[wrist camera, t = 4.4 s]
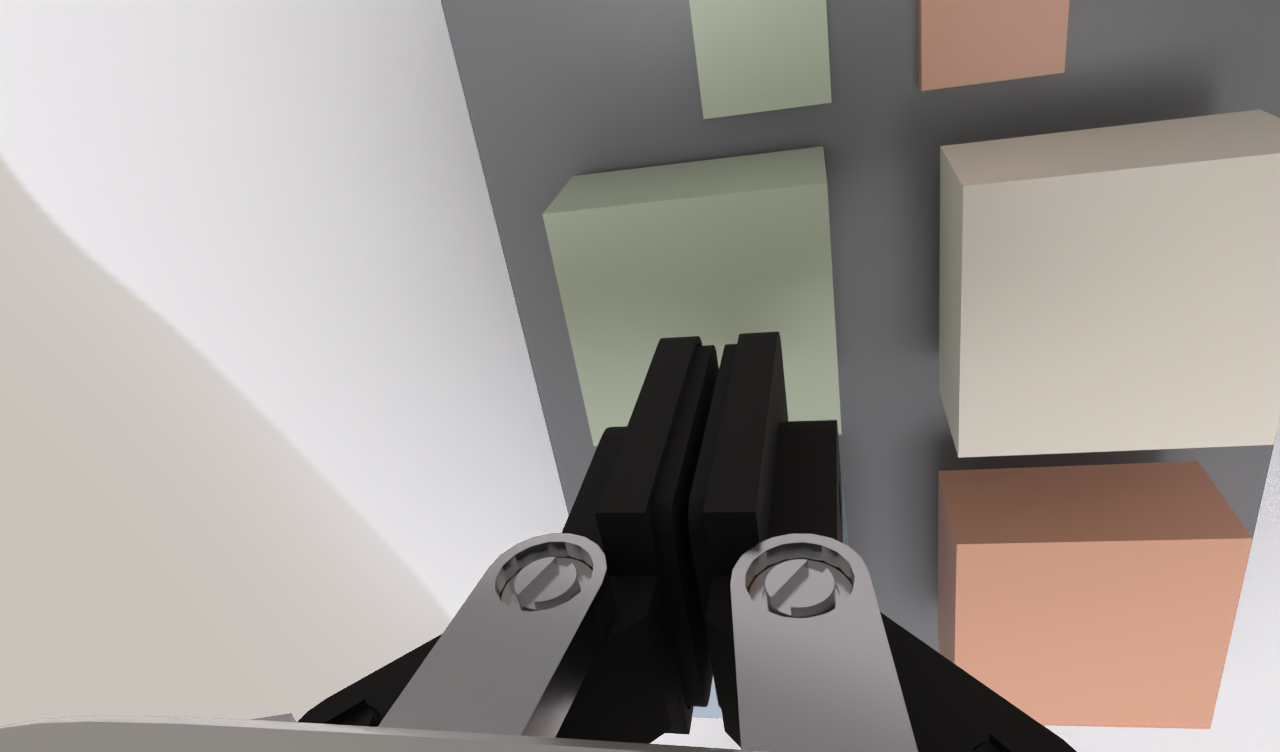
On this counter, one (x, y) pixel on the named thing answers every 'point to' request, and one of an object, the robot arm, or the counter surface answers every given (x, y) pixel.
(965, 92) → the keypad board
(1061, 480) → the key terracotta
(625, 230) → the key sage
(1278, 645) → the counter surface
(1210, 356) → the key cream
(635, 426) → the robot arm
